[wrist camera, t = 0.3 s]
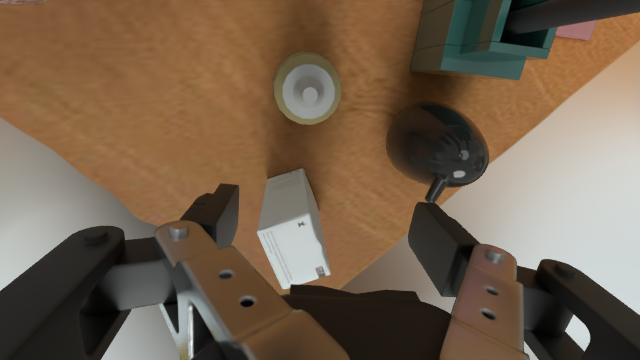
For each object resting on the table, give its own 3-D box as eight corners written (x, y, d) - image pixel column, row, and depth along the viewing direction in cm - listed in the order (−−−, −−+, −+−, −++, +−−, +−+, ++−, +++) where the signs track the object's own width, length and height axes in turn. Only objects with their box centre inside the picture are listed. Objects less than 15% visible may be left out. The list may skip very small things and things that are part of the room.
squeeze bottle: (343, 62, 38) (377, 53, 22) (327, 123, 41) (346, 158, 24) (282, 45, 37) (267, 20, 20) (269, 108, 40) (246, 134, 23)
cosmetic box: (266, 178, 43) (250, 228, 29) (305, 165, 43) (308, 210, 29) (285, 226, 46) (279, 293, 32) (322, 215, 46) (332, 277, 32)
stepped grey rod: (442, 28, 38) (677, -47, 14) (462, 31, 38) (723, -39, 15) (439, 45, 38) (657, 0, 15) (457, 47, 39) (701, 7, 15)
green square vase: (425, -7, 36) (496, -53, 23) (493, 3, 37) (599, -35, 24) (409, 70, 39) (464, 69, 26) (473, 78, 40) (557, 81, 27)
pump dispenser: (363, 142, 42) (395, 178, 28) (413, 82, 40) (477, 87, 26) (413, 183, 45) (466, 234, 31) (463, 128, 42) (546, 156, 28)
